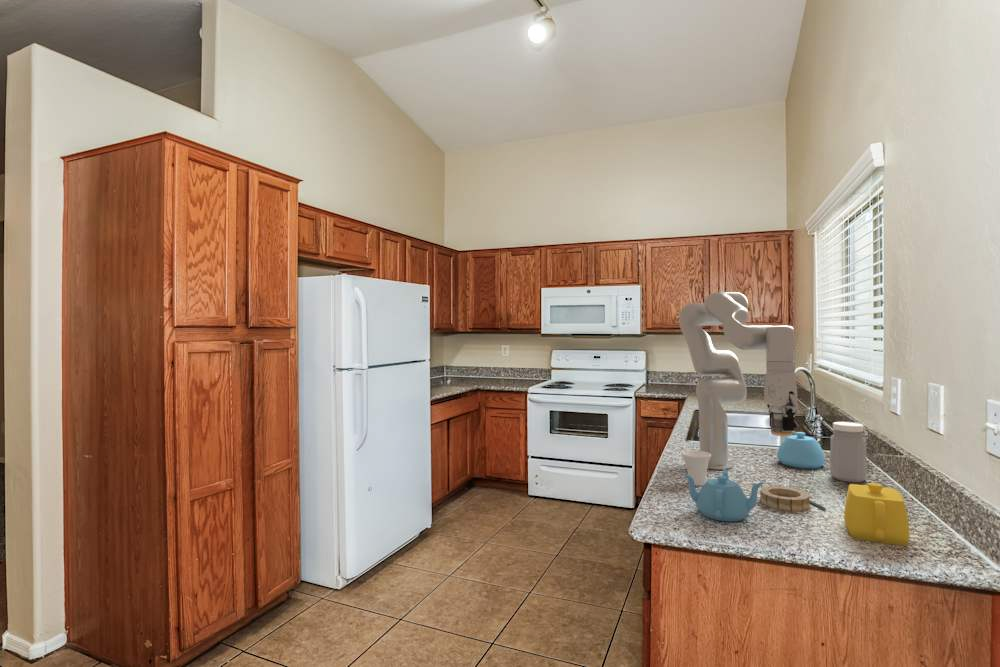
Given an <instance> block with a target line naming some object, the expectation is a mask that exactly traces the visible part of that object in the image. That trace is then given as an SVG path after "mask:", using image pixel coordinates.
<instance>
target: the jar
mask: <svg viewBox="0 0 1000 667" xmlns="http://www.w3.org/2000/svg"><path fill="white" fill-rule="evenodd" d="M864 427H865V426H864V424H862V423H859V422H852V421H835V422H832V429H833V430H832V433H833V434H831V436H830V438H829V439H830V443H829V444H830V446H829V447H830V450H829V452H830V454H829V455H830V456H829V457H830V458H829V460H830V462H829V463H830V467H829V468H830V472H829V473H830V474H831V476H832V477H833V478H834V479H835V480H837V481H838V480H839V481H841V482H847V483H862V482H864V481H865V480H866V479H867V474H868V473H867V468H868V467H867V439H866V437H864V435H865V434H864V433H863V432H864V431H865V430H864V429H865V428H864Z"/></svg>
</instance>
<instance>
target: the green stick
mask: <svg viewBox="0 0 1000 667" xmlns="http://www.w3.org/2000/svg"><path fill="white" fill-rule="evenodd" d="M809 504H812V505H813V506H816V507H818V508H819V509H821V510H823V511H826V510H827V509H826V507H824V506H823V505H821V504H818V503H817V502H815V501H813V500H811V499H809Z"/></svg>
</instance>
